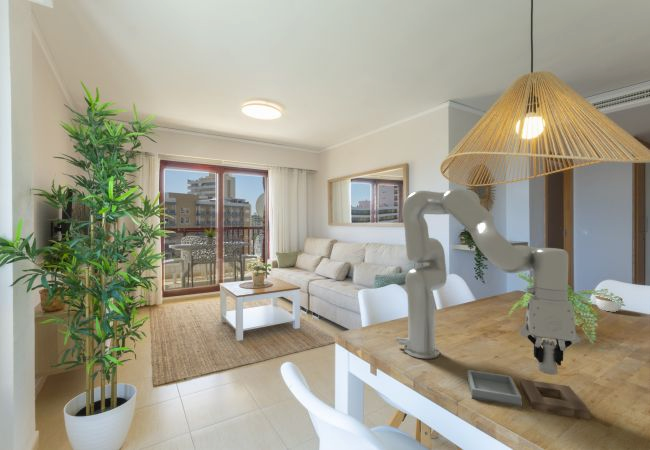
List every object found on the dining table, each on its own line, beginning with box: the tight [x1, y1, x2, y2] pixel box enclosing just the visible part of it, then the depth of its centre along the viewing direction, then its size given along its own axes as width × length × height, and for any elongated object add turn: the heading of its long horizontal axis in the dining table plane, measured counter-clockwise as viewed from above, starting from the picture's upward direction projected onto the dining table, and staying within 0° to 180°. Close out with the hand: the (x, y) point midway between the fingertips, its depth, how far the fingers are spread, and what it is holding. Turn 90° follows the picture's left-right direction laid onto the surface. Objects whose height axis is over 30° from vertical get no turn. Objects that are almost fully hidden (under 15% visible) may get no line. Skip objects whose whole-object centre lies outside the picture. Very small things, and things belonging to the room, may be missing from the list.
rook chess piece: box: [537, 339, 559, 376], centre depth 80 cm, size 4×4×8 cm
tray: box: [467, 369, 523, 408], centre depth 85 cm, size 12×12×2 cm
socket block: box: [518, 378, 591, 420], centre depth 80 cm, size 12×12×2 cm
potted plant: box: [594, 296, 623, 313], centre depth 162 cm, size 11×11×9 cm
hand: (547, 360), depth 80 cm, fingers closed on rook chess piece, 3 cm apart
